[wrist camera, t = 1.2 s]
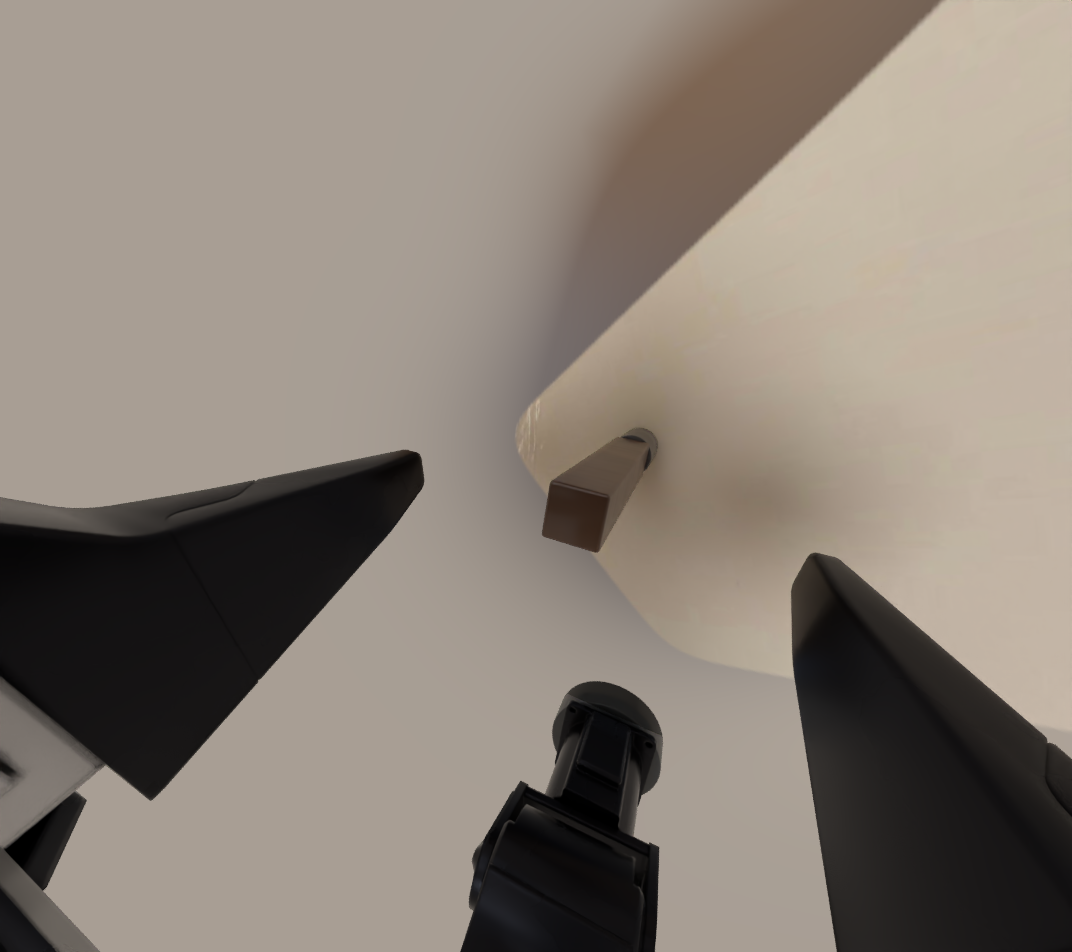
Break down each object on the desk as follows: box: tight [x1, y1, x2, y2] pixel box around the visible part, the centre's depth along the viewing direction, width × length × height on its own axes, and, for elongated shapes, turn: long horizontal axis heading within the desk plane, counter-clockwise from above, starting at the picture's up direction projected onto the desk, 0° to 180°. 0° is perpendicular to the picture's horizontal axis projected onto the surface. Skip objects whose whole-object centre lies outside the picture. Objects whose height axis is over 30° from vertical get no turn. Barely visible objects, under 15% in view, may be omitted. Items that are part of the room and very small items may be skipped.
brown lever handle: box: [542, 428, 658, 552], centre depth 16 cm, size 2×2×13 cm
